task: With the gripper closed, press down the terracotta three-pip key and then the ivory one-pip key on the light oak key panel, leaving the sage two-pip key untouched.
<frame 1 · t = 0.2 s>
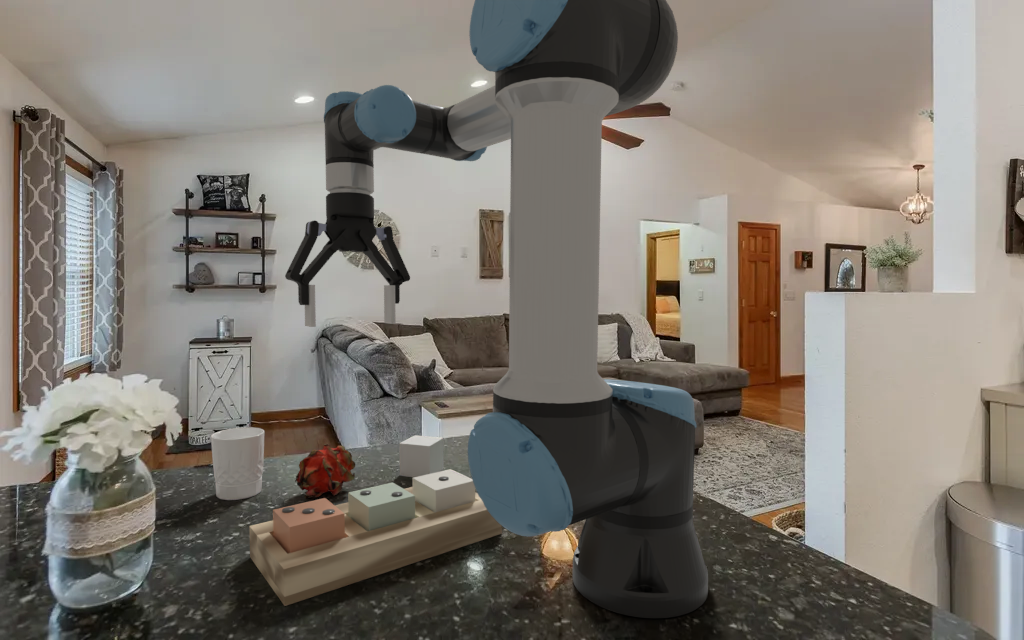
hand: (351, 325, 94), 28 cm above the counter, tool pointing down, fingers open, 13 cm apart
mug: (513, 476, 103), on the counter
dragon fruit: (325, 495, 93), on the counter
key two: (381, 508, 75), point 5 cm above the counter, slide at 0.0 cm
white cube: (422, 473, 105), on the counter
white cup: (239, 494, 94), on the counter
key three: (308, 527, 69), point 5 cm above the counter, slide at 0.0 cm
key one: (443, 492, 80), point 5 cm above the counter, slide at 0.0 cm
key panel: (381, 544, 75), on the counter
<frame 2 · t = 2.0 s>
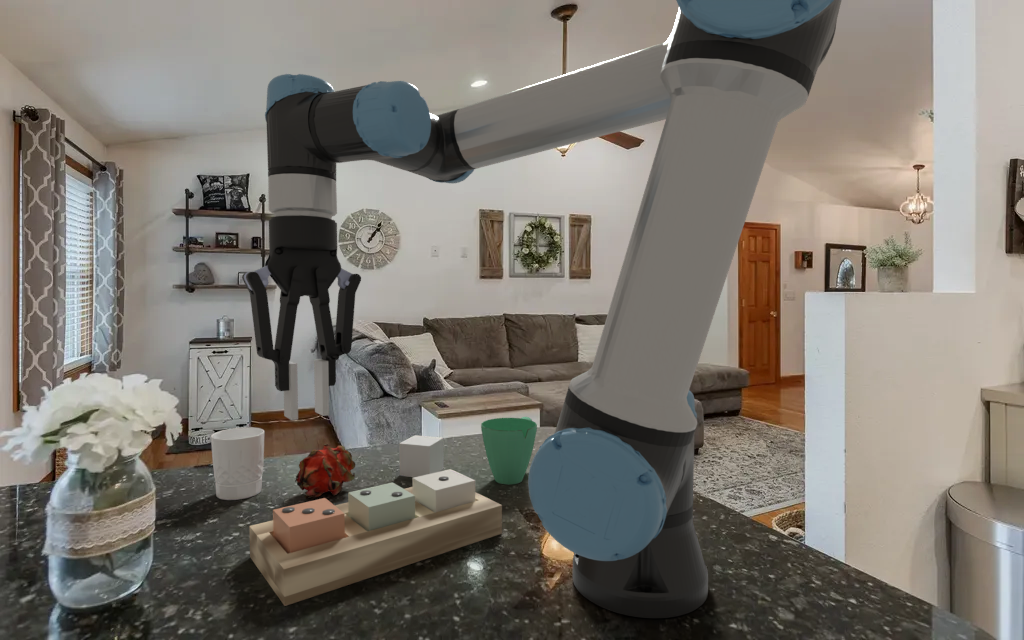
hand: (306, 415, 68), 19 cm above the counter, tool pointing down, fingers open, 3 cm apart
nothing on the counter moved.
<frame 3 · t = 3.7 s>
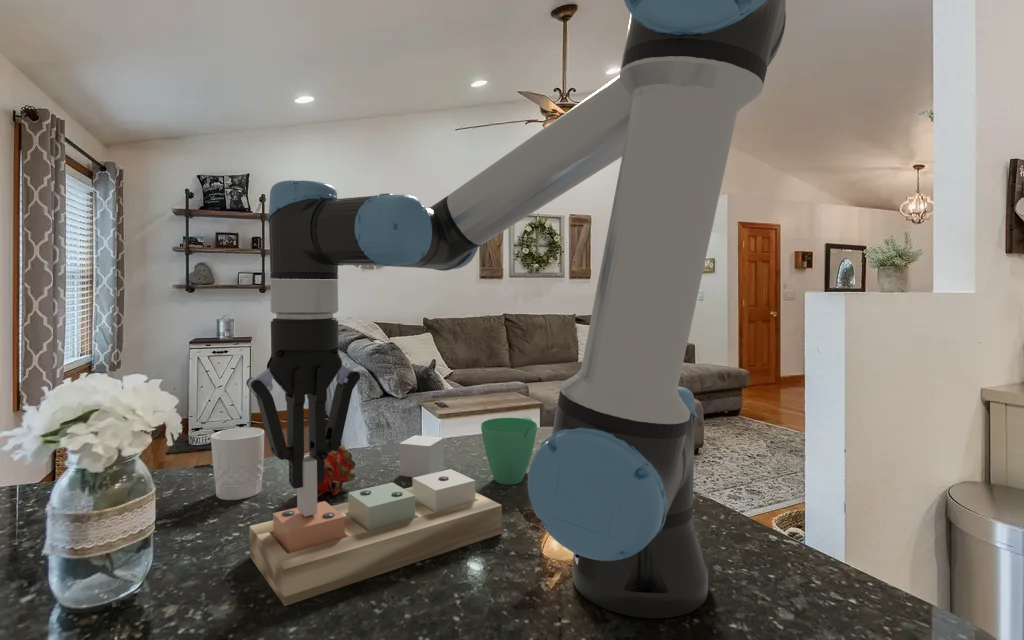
hand: (307, 511, 69), 7 cm above the counter, tool pointing down, fingers closed
key three: (308, 530, 69), point 4 cm above the counter, slide at 0.4 cm, touching gripper
everything else where it was.
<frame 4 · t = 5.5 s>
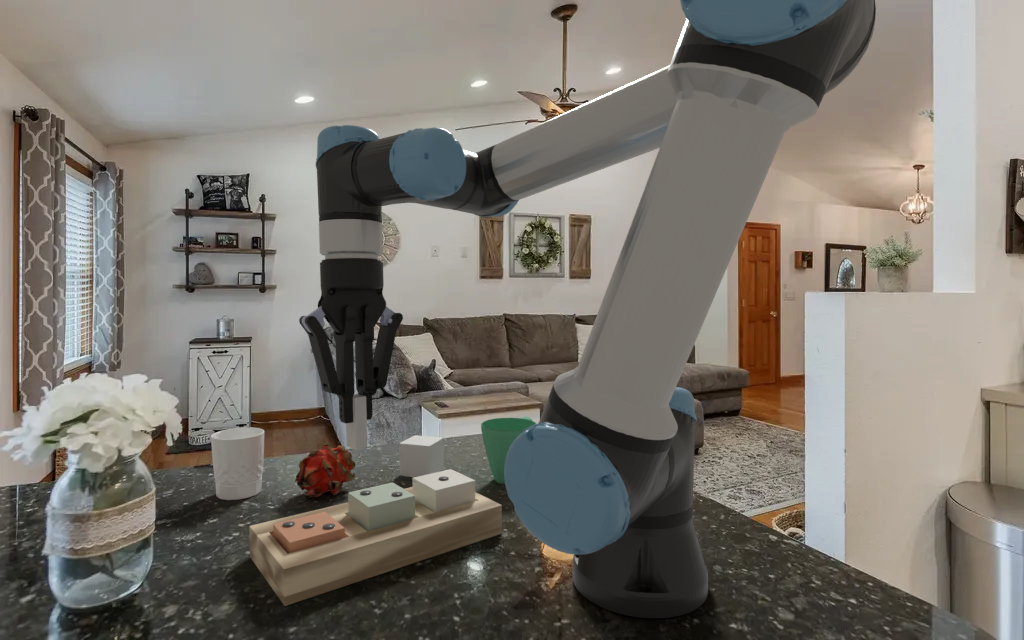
hand: (356, 447, 71), 14 cm above the counter, tool pointing down, fingers closed
key three: (308, 541, 69), point 3 cm above the counter, slide at 1.8 cm
everything else where it was.
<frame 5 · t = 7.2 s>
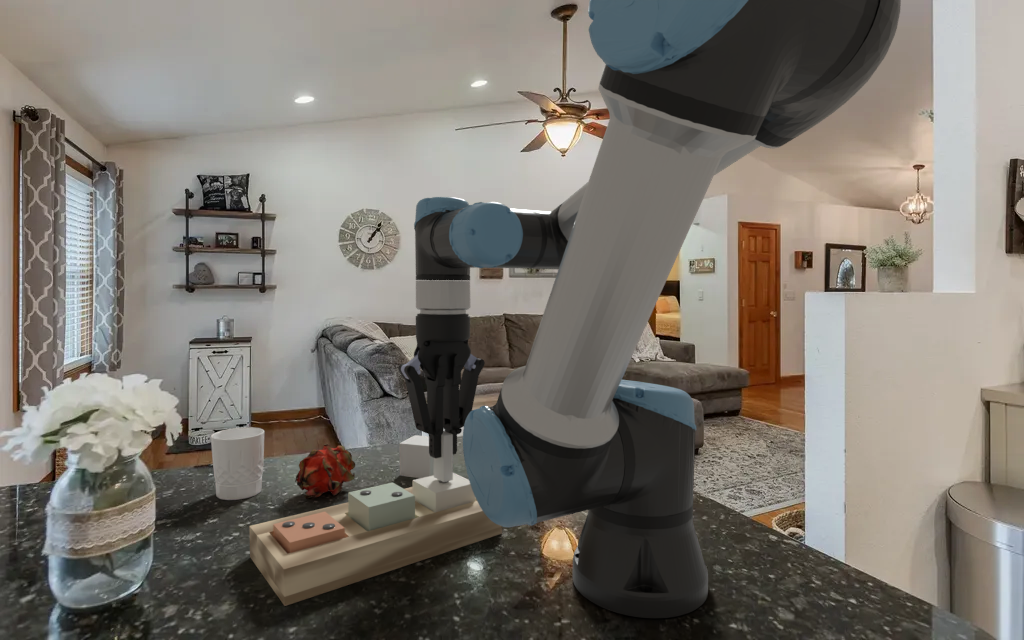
hand: (443, 478, 81), 7 cm above the counter, tool pointing down, fingers closed
key one: (443, 494, 80), point 5 cm above the counter, slide at 0.4 cm, touching gripper
everything else where it was.
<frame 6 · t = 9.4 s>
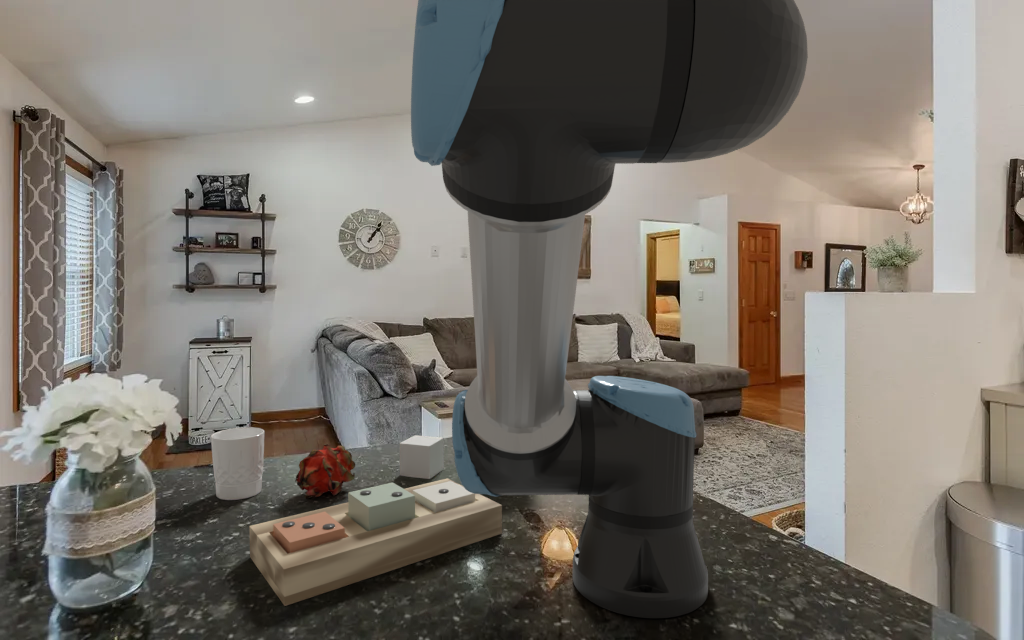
hand: (520, 376, 83), 21 cm above the counter, tool pointing down, fingers closed
key one: (443, 504, 81), point 3 cm above the counter, slide at 1.8 cm
everything else where it was.
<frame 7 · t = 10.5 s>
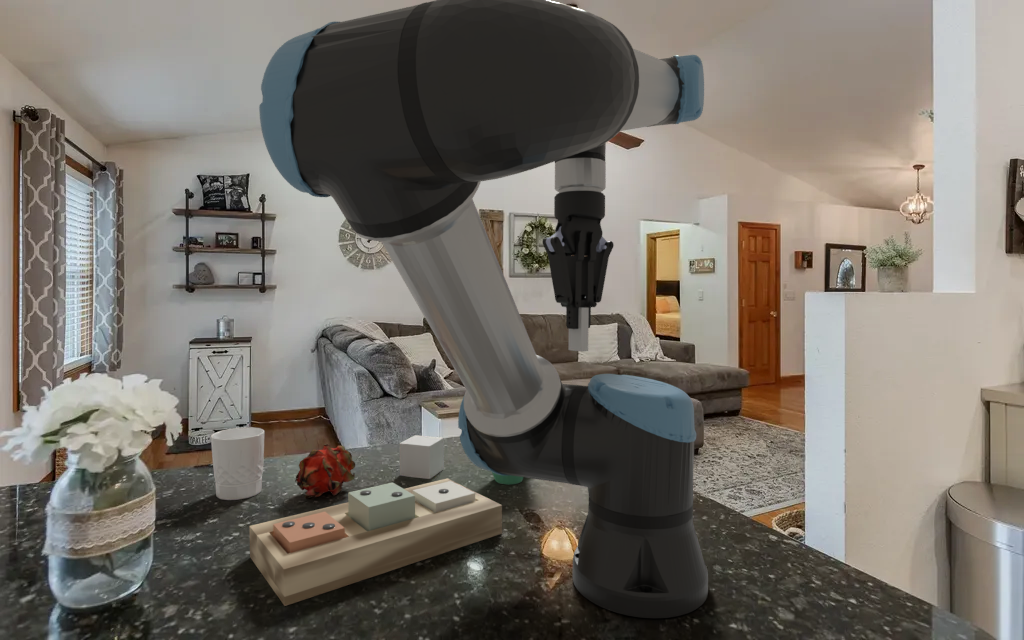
hand: (578, 350, 86), 24 cm above the counter, tool pointing down, fingers closed
nothing on the counter moved.
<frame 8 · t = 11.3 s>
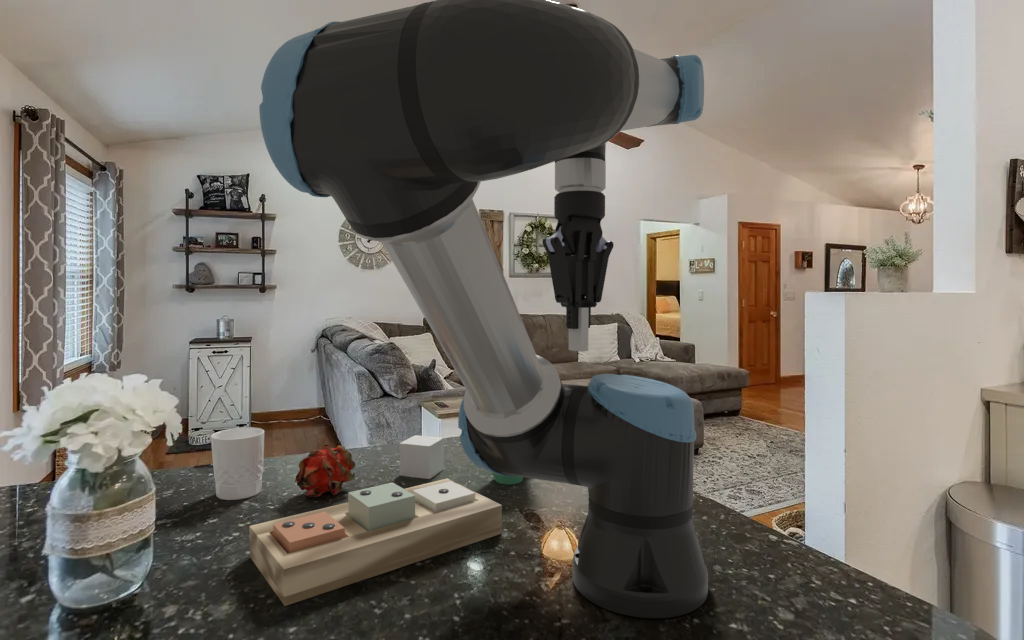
hand: (578, 350, 86), 24 cm above the counter, tool pointing down, fingers closed
nothing on the counter moved.
at the end: key three slide at 1.8 cm; key one slide at 1.8 cm; key two slide at 0.0 cm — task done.
